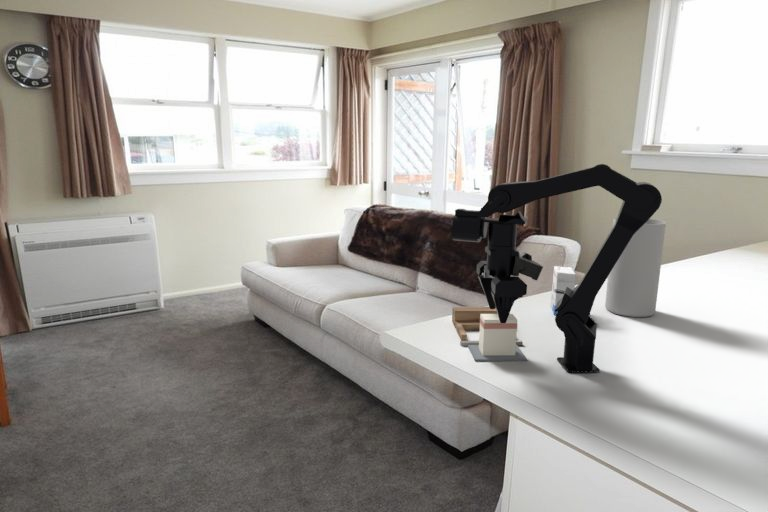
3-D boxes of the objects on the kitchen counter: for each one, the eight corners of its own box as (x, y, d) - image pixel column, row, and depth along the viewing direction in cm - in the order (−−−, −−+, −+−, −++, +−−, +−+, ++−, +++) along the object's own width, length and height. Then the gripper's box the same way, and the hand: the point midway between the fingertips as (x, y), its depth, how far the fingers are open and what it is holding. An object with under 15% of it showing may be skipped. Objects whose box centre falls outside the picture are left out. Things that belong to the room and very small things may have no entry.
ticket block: (515, 355, 109) (517, 319, 107) (482, 355, 109) (484, 319, 107) (510, 347, 113) (512, 313, 111) (478, 348, 113) (480, 313, 111)
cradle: (522, 345, 115) (523, 328, 115) (461, 345, 115) (461, 329, 114) (503, 321, 132) (504, 306, 131) (449, 321, 131) (450, 306, 130)
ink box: (573, 316, 135) (576, 273, 133) (553, 315, 136) (556, 272, 134) (568, 307, 143) (571, 266, 141) (550, 306, 144) (553, 265, 142)
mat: (527, 360, 107) (527, 358, 107) (475, 361, 107) (475, 359, 107) (516, 346, 115) (516, 344, 115) (468, 346, 115) (468, 344, 114)
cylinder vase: (653, 307, 143) (664, 219, 138) (656, 320, 132) (667, 225, 127) (605, 302, 148) (613, 216, 143) (604, 314, 137) (613, 222, 132)
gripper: (556, 253, 97) (549, 331, 100) (526, 236, 115) (522, 302, 118) (498, 253, 97) (493, 331, 100) (477, 236, 115) (474, 302, 118)
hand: (497, 315), depth 109 cm, fingers open, 9 cm apart
